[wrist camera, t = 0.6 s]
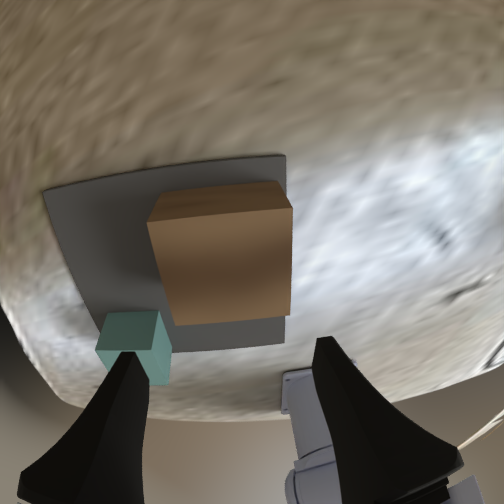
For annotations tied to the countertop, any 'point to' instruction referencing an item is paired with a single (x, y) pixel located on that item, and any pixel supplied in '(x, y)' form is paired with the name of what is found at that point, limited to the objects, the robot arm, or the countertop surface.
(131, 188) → the mat
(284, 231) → the walnut block
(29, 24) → the countertop surface
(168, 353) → the teal block
